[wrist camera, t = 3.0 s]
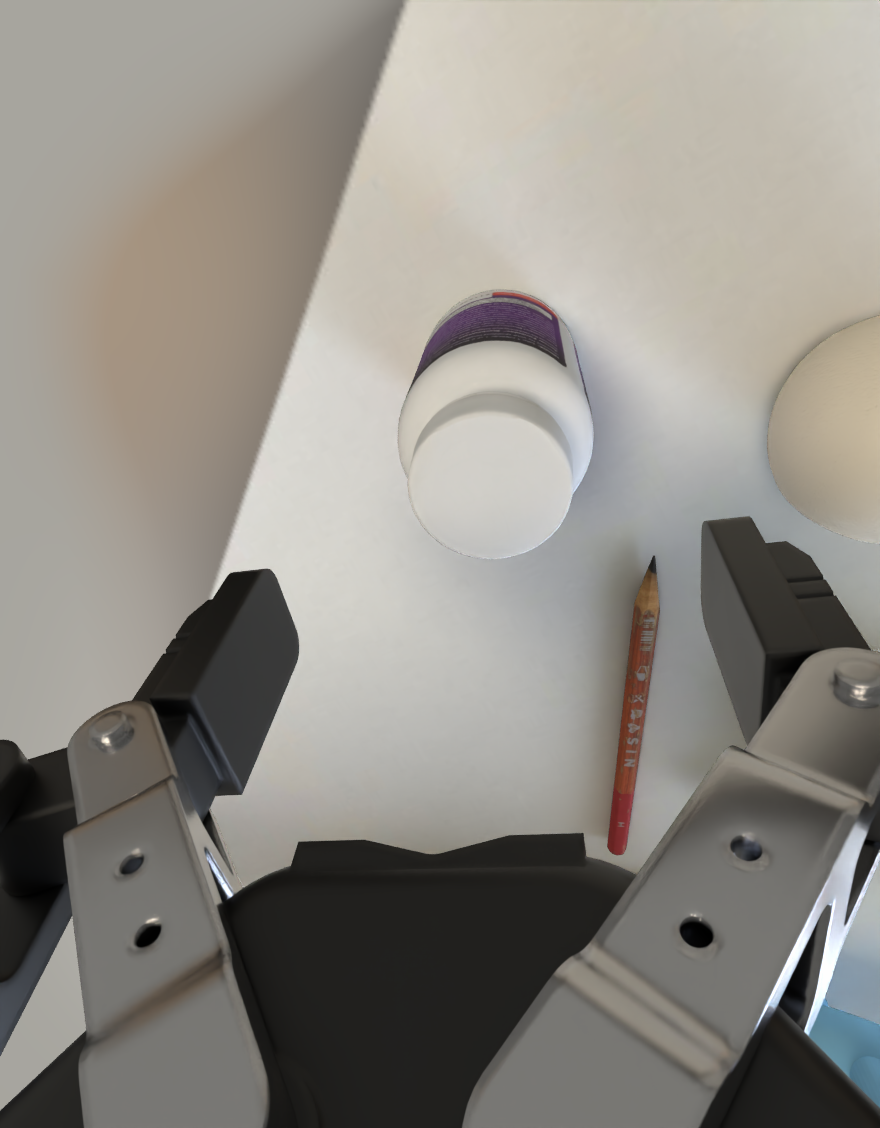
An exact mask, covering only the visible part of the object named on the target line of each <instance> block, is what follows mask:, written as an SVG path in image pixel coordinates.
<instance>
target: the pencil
mask: <svg viewBox="0 0 880 1128" xmlns="http://www.w3.org/2000/svg"><path fill="white" fill-rule="evenodd" d="M659 613H660V608H659V597H658V585H657V573H656V561H655V556H653V557H652V560H651V562H650V564H649V567H648V569H647V572H646V575H645V577H644V580H643V582H642V585H641V587H640V590H639V593H638V595H637V598H636V600H635V604H634V613H633V622H632V630H631V639H630V648H629V657H628V666H627V675H626V684H625V693H624V702H623V711H622V720H621V728H620V737H619V746H618V755H617V764H616V773H615V782H614V791H613V800H612V809H611V818H610V827H609V835H608V844H607V847H608V849H609V851H610V852H611V853H612V854H615V855H623V854H624V852H625V850H626V846H627V839H628V832H629V824H630V817H631V810H632V803H633V796H634V789H635V782H636V775H637V768H638V761H639V754H640V747H641V740H642V733H643V726H644V719H645V712H646V705H647V697H648V690H649V683H650V676H651V669H652V662H653V655H654V648H655V641H656V634H657V627H658V620H659Z"/></svg>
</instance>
